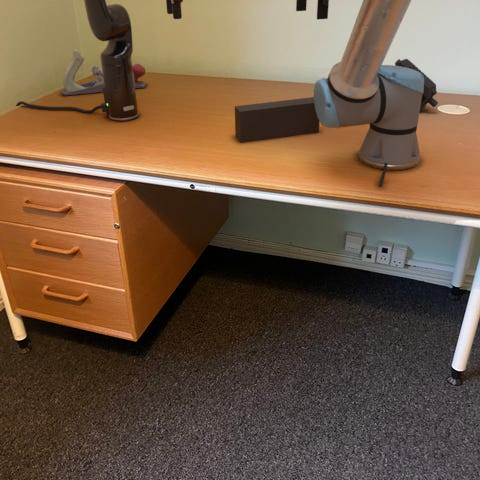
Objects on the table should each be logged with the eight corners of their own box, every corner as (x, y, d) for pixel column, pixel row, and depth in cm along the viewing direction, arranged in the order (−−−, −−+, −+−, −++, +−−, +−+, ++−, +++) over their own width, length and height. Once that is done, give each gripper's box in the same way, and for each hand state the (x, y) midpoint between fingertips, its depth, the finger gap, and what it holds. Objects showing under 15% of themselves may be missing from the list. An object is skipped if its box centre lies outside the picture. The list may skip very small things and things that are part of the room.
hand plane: (62, 90, 197) (53, 48, 189) (145, 82, 205) (140, 41, 197) (62, 96, 191) (54, 53, 184) (148, 87, 199) (143, 45, 191)
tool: (377, 89, 181) (403, 52, 170) (419, 126, 177) (449, 91, 166) (368, 93, 177) (394, 56, 166) (411, 131, 173) (441, 96, 162)
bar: (311, 126, 161) (313, 96, 156) (318, 132, 157) (320, 101, 152) (235, 136, 155) (234, 106, 150) (240, 142, 151) (240, 111, 146)
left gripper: (150, -52, 142) (156, 13, 150) (159, -49, 130) (165, 21, 139) (177, -53, 144) (182, 11, 152) (189, -50, 132) (193, 19, 141)
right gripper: (282, -79, 139) (280, 8, 150) (323, -78, 119) (317, 23, 130) (309, -80, 141) (305, 6, 152) (353, -79, 120) (345, 21, 132)
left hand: (174, 16), depth 146 cm, fingers open, 8 cm apart
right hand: (311, 14), depth 141 cm, fingers open, 13 cm apart
